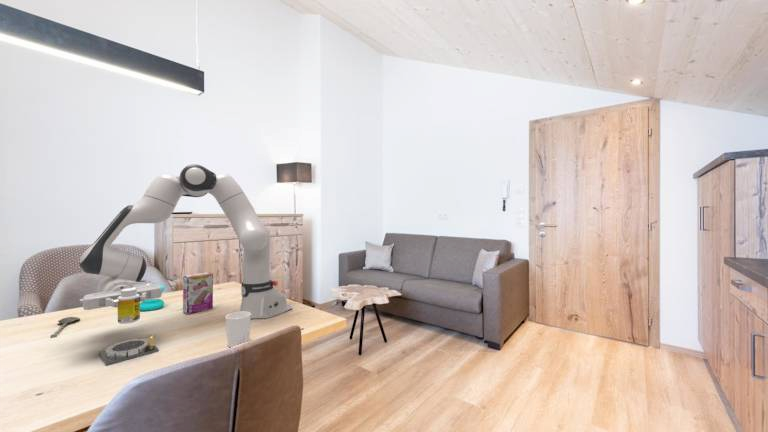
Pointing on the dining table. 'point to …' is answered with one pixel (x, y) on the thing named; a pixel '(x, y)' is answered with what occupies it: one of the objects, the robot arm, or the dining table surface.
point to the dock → (128, 350)
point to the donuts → (152, 303)
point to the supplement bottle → (128, 306)
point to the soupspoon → (65, 321)
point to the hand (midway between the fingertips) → (129, 301)
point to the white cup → (238, 328)
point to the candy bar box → (197, 292)
